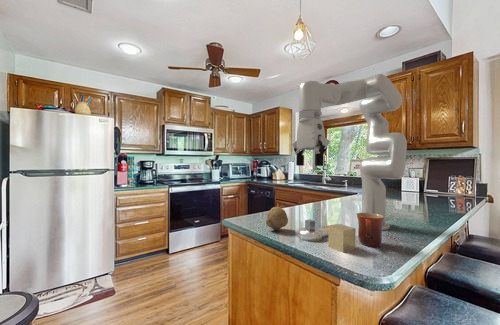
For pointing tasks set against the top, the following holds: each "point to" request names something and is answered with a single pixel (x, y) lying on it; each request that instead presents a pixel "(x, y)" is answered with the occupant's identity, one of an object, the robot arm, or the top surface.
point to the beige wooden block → (341, 237)
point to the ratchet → (312, 231)
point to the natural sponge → (276, 218)
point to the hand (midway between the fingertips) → (309, 165)
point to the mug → (370, 229)
